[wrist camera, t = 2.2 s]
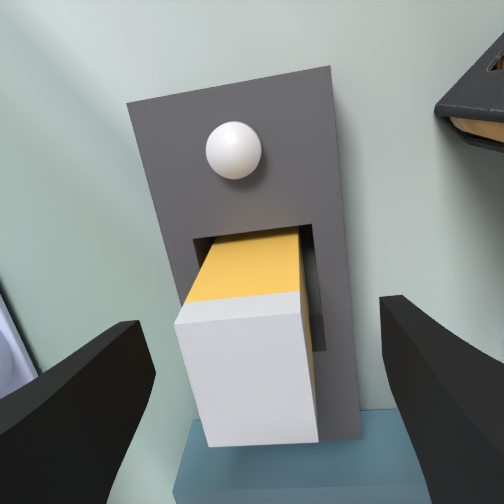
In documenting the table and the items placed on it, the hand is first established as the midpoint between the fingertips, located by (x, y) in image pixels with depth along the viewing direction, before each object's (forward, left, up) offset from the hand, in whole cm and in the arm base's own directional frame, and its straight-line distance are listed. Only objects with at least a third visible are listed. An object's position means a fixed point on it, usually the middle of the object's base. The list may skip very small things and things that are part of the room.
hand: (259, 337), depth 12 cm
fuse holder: (0, 0, -5) cm, 5 cm away
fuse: (0, 0, -5) cm, 5 cm away
